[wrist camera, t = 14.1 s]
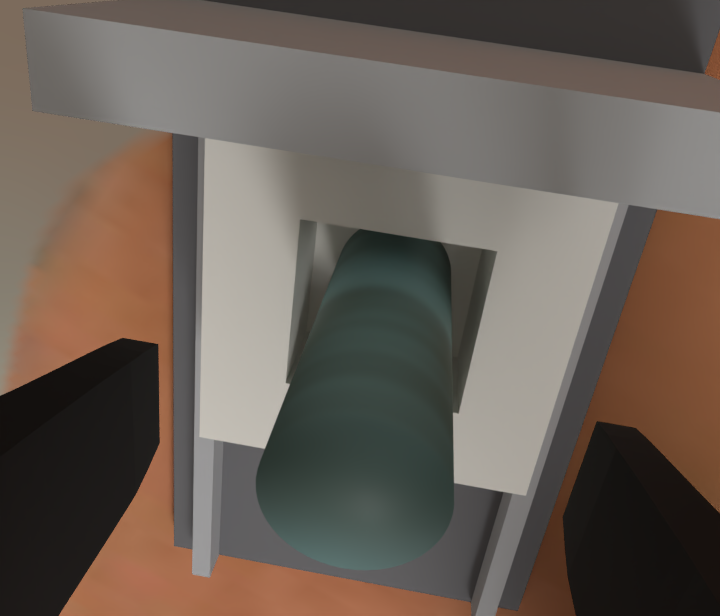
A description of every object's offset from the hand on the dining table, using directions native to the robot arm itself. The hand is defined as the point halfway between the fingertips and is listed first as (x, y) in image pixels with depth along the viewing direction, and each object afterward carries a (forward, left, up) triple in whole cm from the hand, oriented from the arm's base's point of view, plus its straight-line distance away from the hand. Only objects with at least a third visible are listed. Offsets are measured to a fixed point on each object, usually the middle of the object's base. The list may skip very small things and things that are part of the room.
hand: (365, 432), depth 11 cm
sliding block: (0, 0, -7) cm, 7 cm away
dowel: (0, 0, -6) cm, 6 cm away
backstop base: (-2, 0, -8) cm, 8 cm away
